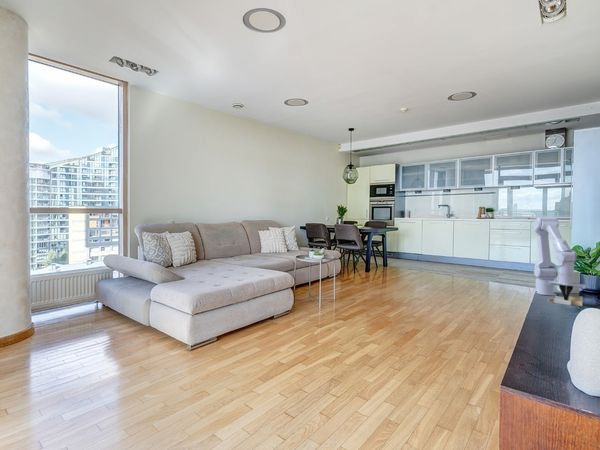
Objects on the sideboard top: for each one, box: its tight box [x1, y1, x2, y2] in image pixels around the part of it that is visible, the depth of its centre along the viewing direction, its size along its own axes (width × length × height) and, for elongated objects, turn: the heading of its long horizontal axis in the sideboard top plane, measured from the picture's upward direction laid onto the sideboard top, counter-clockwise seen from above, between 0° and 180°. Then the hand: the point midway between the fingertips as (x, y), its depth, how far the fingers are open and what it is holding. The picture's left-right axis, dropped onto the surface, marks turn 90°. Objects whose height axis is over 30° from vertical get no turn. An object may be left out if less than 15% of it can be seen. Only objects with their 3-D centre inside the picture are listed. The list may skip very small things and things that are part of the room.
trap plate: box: [547, 298, 555, 304], centre depth 164 cm, size 3×7×1 cm, turn 137°
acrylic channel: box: [554, 295, 572, 306], centre depth 161 cm, size 6×7×2 cm
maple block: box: [568, 294, 583, 307], centre depth 158 cm, size 5×4×4 cm
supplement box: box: [556, 269, 580, 294], centre depth 181 cm, size 7×7×13 cm
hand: (565, 300), depth 160 cm, fingers closed
